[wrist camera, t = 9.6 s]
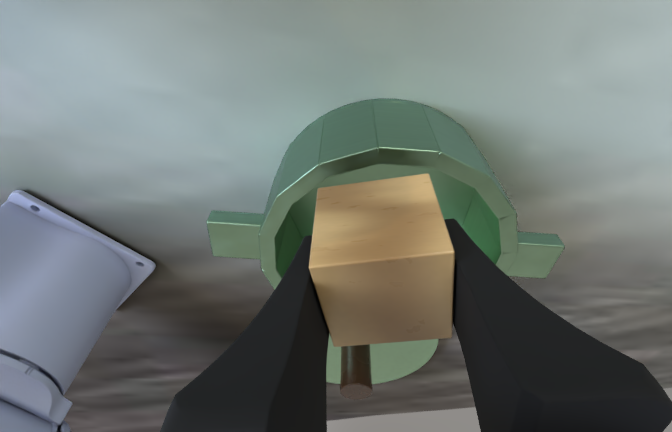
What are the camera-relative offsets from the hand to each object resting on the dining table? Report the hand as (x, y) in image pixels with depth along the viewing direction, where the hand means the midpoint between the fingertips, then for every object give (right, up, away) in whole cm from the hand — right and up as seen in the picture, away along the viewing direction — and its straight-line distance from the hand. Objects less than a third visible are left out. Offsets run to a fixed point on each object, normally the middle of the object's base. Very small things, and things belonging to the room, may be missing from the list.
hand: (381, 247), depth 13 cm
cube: (0, +1, +1) cm, 1 cm away
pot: (+1, +2, +10) cm, 10 cm away
